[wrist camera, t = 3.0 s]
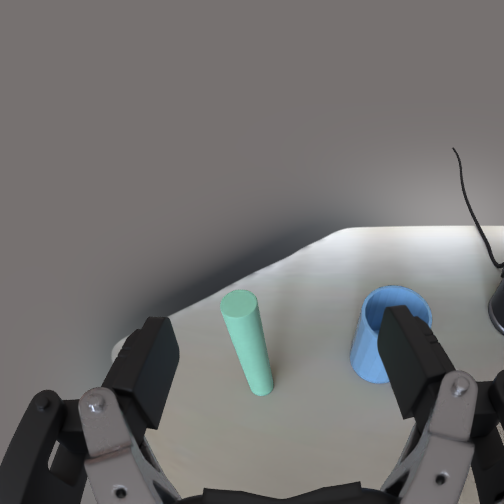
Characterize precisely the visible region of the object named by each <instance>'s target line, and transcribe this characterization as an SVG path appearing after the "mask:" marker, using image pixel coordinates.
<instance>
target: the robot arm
mask: <svg viewBox="0 0 504 504" xmlns="http://www.w3.org/2000/svg"><path fill="white" fill-rule="evenodd" d="M453 150H454V152H455V153H456V155H457V158H458V161H459V167H460V177H461V185H462V191H463V194H464V198H465V200H466V204H467V206H468V208H469V211H470V213H471V215H472V217H473V220H474V222H475V224H476V226H477V228H478V230H479V232H480V234H481V236H482V238H483V239H484V241H485V243H486V246H487V249H488V252H489V255H490V258H491V260H492V262H493V264H494V265H495V266H496V267H497V268H503V270H502V274H501V277H502V278H503V280H502V282H501V283H500V285H499V287H498V289H497V290H496V292H495V293H494V295H493V296H492V298H491V300H490V302H489V306H488V310H489V315H490V318H491V321H492V323H493V324H494V326H495V327H496V328H497V330H498V331H499V332H500V333H502V334H503V335H504V262H503V263H501V264H498V263H497V262H496V261H495V259H494V257H493V254H492V251H491V247H490V245H489V242H488V240H487V238H486V237H485V235H484V233H483V231H482V229H481V227H480V225H479V223H478V221H477V219H476V217H475V215H474V213H473V211H472V209H471V206H470V204H469V201H468V199H467V196H466V192H465V188H464V183H463V177H462V167H461V161H460V158H459V155H458V153H457V152H456V150H455V149H454V148H453ZM377 348H378V353H379V355H380V358H381V360H382V363H383V365H384V368H385V370H386V373H387V376H388V378H389V381H390V383H391V386H392V389H393V391H394V394H395V397H396V400H397V403H398V405H399V408H400V411H401V414H402V417H403V420H404V419H407V418H411V417H414V418H415V421H416V423H415V424H414V426H413V428H412V431H411V433H410V435H409V438H408V440H407V442H406V445H405V447H404V449H403V451H402V453H401V456H400V458H399V460H398V462H397V464H396V466H395V467H394V469H393V471H392V472H391V474H390V475H389V476H388V478H387V479H386V481H385V482H384V484H383V485H382V487H381V489H380V490H375V489H369V488H361V483H360V481H359V482H354V483H349V484H343V485H337V486H330V487H323V488H320V489H317V490H314V491H311V492H308V493H305V494H301V495H298V496H294V497H291V498H287V499H276V498H271V497H266V496H261V495H256V494H252V493H248V492H244V491H232V490H218V489H208V488H204V490H203V495H197V496H192V497H188V498H184V499H182V498H181V497H180V495H179V494H178V492H177V491H176V489H175V488H174V486H173V485H172V484H171V483H170V481H169V480H168V479H167V477H166V476H165V474H164V472H163V470H162V469H161V467H160V465H159V463H158V461H157V459H156V457H155V455H154V453H153V451H152V449H151V447H150V445H149V443H148V441H147V439H146V437H145V436H144V434H145V431H146V428H150V429H156V430H157V429H158V426H159V423H160V419H161V416H162V413H163V410H164V406H165V403H166V400H167V397H168V394H169V390H170V387H171V384H172V381H173V378H174V375H175V372H176V369H177V366H178V362H179V346H178V343H177V340H176V337H175V334H174V331H173V328H172V324H171V321H170V319H169V318H168V317H148V318H147V320H146V322H145V323H144V326H143V327H142V329H137V330H136V331H134V332H133V333H132V334H131V335H130V336H129V337H128V338H127V339H126V341H125V343H124V345H123V346H122V349H121V350H120V352H119V354H118V357H116V359H115V361H114V363H113V365H112V367H111V369H110V371H109V372H108V374H107V376H106V378H105V380H104V382H103V384H102V386H101V387H96V388H93V389H90V390H88V391H87V392H86V393H84V395H83V396H82V397H81V399H77V400H62V399H61V398H60V397H59V396H58V394H57V393H56V392H54V391H52V390H44V391H41V392H39V393H38V394H36V395H35V396H34V398H33V399H32V401H31V403H30V404H29V406H28V408H27V410H26V412H25V414H24V416H23V418H22V420H21V422H20V423H19V426H18V427H17V430H16V432H15V434H14V436H13V438H12V440H11V442H10V445H9V447H8V449H7V452H6V454H5V456H4V459H3V461H2V463H1V466H0V504H80V502H81V498H82V494H83V491H84V487H85V484H86V480H87V477H88V479H89V482H90V485H91V488H92V491H93V493H94V496H95V499H96V501H97V504H457V503H458V500H459V498H460V495H461V492H462V490H463V487H464V484H465V481H466V478H467V475H468V472H469V468H470V465H471V467H472V471H473V475H474V479H475V483H476V487H477V491H478V496H479V501H480V504H504V446H503V443H502V440H501V437H500V435H499V432H498V430H497V427H496V426H497V425H498V423H499V422H500V423H501V425H502V428H503V430H504V370H502V371H500V372H499V373H498V374H497V376H496V378H495V379H494V381H484V382H476V381H475V379H474V378H473V377H472V376H471V375H470V374H468V373H466V372H464V371H458V370H456V369H455V368H454V366H453V364H452V362H451V361H450V359H449V357H448V356H447V354H446V352H445V351H444V349H443V348H442V346H441V344H440V343H438V340H437V338H436V336H435V335H433V332H432V330H431V329H430V327H429V326H428V324H427V323H426V322H424V321H423V320H422V319H420V318H419V317H418V316H414V317H413V315H412V314H411V312H410V310H409V309H408V307H407V306H406V305H398V306H390V307H386V308H385V310H384V313H383V318H382V322H381V326H380V330H379V334H378V338H377ZM56 440H57V441H58V442H59V443H60V444H59V447H58V449H57V452H56V455H55V457H54V460H53V463H52V465H51V468H50V471H49V468H48V460H49V457H50V454H51V452H52V449H53V447H54V444H55V442H56Z"/></svg>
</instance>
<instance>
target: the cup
mask: <svg viewBox="0 0 504 504" xmlns="http://www.w3.org/2000/svg"><path fill="white" fill-rule="evenodd" d="M398 305H406V306H407V307H408V309H409V310H410V312H411V314H412V315H413V317H414V316H418V317H419V318H420V319H422V320H423V321H424V322H426V323H427V324H428V326H429V327H430V329H431V325H432V315H431V310H430V308H429V306H428V304H427V302H426V301H425V300H424V299H423V298H422V297H421V296H420V295H419V294H418V293H416V292H414V291H413V290H411V289H409V288H405V287H402V286H393V285H389V286H384V287H380V288H378V289H376V290H374V291H372V292H371V293H370V294H369V295H368V296H367V297H366V299H365V301H364V303H363V306H362V309H361V313H360V317H359V321H358V324H357V328H356V332H355V335H354V339H353V342H352V346H351V351H350V361H351V365H352V367H353V369H354V370H355V372H356V373H357V374H358V375H359V376H360V377H361V378H363V379H364V380H366V381H369V382H372V383H387V382H390V381H389V378H388V376H387V373H386V370H385V368H384V365H383V363H382V360H381V358H380V355H379V353H378V348H377V338H378V334H379V330H380V326H381V322H382V318H383V313H384V310H385V308H386V307H390V306H398Z"/></svg>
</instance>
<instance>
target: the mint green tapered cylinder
mask: <svg viewBox="0 0 504 504" xmlns="http://www.w3.org/2000/svg"><path fill="white" fill-rule="evenodd" d="M220 309H221V312H222V314H223V317H224V320H225V323H226V326H227V328H228V331H229V334H230V336H231V339H232V342H233V344H234V347H235V350H236V352H237V355H238V358H239V360H240V363H241V365H242V368H243V371H244V373H245V376H246V378H247V381H248V383H249V386H250V388H251V390H252V392H253V393H254V394H256V395H259V396H264V395H267V394H269V393H270V392H271V391H272V389H273V386H274V384H273V379H272V374H271V369H270V363H269V358H268V353H267V348H266V343H265V338H264V333H263V328H262V323H261V318H260V312H259V307H258V302H257V298H256V296H255V295H254V294H253V293H251V292H250V291H247V290H235V291H232V292H230V293H228V294H227V295H226V296H225V297H224V298H223V299H222V301H221V304H220Z"/></svg>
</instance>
